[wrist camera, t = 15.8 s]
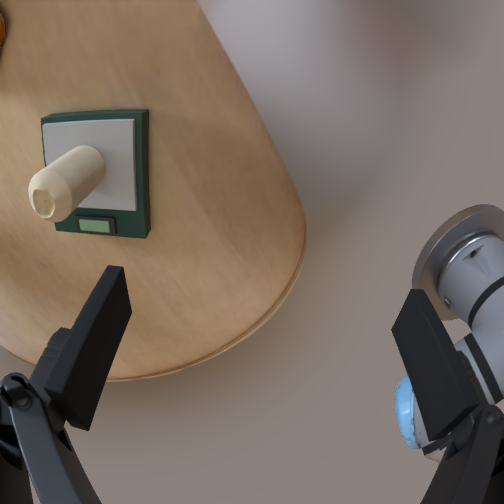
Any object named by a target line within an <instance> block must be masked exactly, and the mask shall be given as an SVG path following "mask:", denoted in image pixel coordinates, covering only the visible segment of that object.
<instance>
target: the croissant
mask: <svg viewBox="0 0 504 504" xmlns="http://www.w3.org/2000/svg"><path fill="white" fill-rule="evenodd" d="M5 37H6V34H5V22H4V18H3V16H2V14H1V13H0V48H1V47H2V46H3V44H4V42H5V41H4V40H5Z"/></svg>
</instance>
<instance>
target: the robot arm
mask: <svg viewBox="0 0 504 504" xmlns="http://www.w3.org/2000/svg"><path fill="white" fill-rule="evenodd" d="M437 293H438V296H439V298H440V299H441V301H442V303H443V304H444V305H445V306H446V307H447V308H448V309H449V310H450V311H451V312H453V313H454V314H455V315H457V316H458V317H459V318H461V319H462V320H463V321H464V322H466V323H467V324H468V326H469V327H470V329H471V331H472V332H471V333H469V334H468V335H467V336H466V337H464V338H463V339H461V340H460V341H458V342H457V343H456V344H454V345H453V343H452V341H451V339H450V337H449V335H448V333H447V331H446V329H445V327H444V325H443V323H442V322H441V320H440V318H439V316H438V314H437V312H436V310H435V309H434V307H433V305H432V303H431V301H430V300H429V298H428V296H427V294H426V293H425V291H424V289H411V290H410V292H409V294H408V296H407V299H406V301H405V303H404V305H403V307H402V309H401V311H400V313H399V315H398V317H397V319H396V321H395V324H394V325H393V327H392V329H391V330H392V333H393V336H394V338H395V341H396V343H397V346H398V349H399V351H400V354H401V357H402V359H403V362H404V365H405V368H406V371H407V374H408V375H407V376H405V377H404V378H403V379H401V381H400V382H399V384H398V386H397V388H396V395H395V406H396V407H395V408H396V415H397V420H398V424H399V427H400V430H401V433H402V436H403V437H404V438H405V441H406V443H407V445H408V446H409V447H410V448H412V449H420V448H422V450H423V453H424V456H425V458H428V459H431V460H435V461H436V462H438V464H439V466H438V469H437V471H436V473H435V475H434V477H433V479H432V482H431V484H430V486H429V488H428V490H427V492H426V494H425V496H424V498H423V500H422V502H421V503H420V504H504V414H503V413H502V411H501V410H500V409H499V408H498V407H497V406H495V404H497V403H498V402H500V401H501V400H502V399H504V241H503V240H502V239H501V238H500V237H499V236H498V235H496V234H494V233H490V232H484V233H479V234H476V235H474V236H472V237H470V238H468V239H467V240H465V241H464V242H462V243H461V244H460V245H459V246H458V247H457V248H456V249H455V250H454V251H453V252H452V253H451V254H450V256H449V257H448V258H447V260H446V261H445V263H444V264H443V266H442V268H441V271H440V273H439V276H438V280H437ZM131 314H132V309H131V305H130V300H129V295H128V290H127V284H126V279H125V273H124V268H123V267H120V266H110V265H108V266H107V268H106V269H105V271H104V273H103V274H102V276H101V278H100V279H99V281H98V283H97V284H96V286H95V288H94V289H93V291H92V293H91V294H90V296H89V298H88V300H87V301H86V303H85V305H84V307H83V308H82V310H81V312H80V314H79V316H78V317H77V319H76V321H75V323H74V325H73V327H72V328H71V329H67V328H62V327H61V328H60V329H59V330H58V331H57V332H55V333H54V334H53V335H52V337H51V338H50V340H49V342H48V344H47V347H46V348H45V349H44V351H43V353H42V356H41V357H40V359H39V361H38V363H37V365H36V367H35V369H34V371H33V373H32V375H31V377H30V379H29V380H28V379H27V377H25V376H24V375H23V374H21V373H10V374H8V375H7V376H5V377H4V378H3V379H2V380H1V382H0V504H33V499H32V493H31V488H30V481H29V475H30V478H31V481H32V483H33V485H34V488H35V491H36V493H37V496H38V498H39V500H40V503H41V504H102V503H101V502H100V500H99V498H98V496H97V495H96V493H95V491H94V489H93V487H92V485H91V483H90V482H89V480H88V478H87V476H86V474H85V472H84V470H83V468H82V466H81V464H80V461H79V459H78V457H77V455H76V453H75V451H74V448H73V446H72V444H71V442H70V439H69V437H68V434H67V432H66V430H65V428H64V424H65V421H66V420H67V421H68V422H69V424H70V425H71V426H73V427H76V428H79V429H82V430H86V431H89V429H90V426H91V423H92V420H93V417H94V413H95V410H96V407H97V404H98V401H99V399H100V396H101V393H102V390H103V387H104V384H105V381H106V379H107V376H108V373H109V370H110V368H111V365H112V362H113V360H114V357H115V354H116V352H117V349H118V347H119V344H120V341H121V339H122V336H123V334H124V331H125V329H126V326H127V324H128V321H129V319H130V317H131ZM28 473H29V475H28Z"/></svg>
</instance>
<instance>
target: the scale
mask: <svg viewBox="0 0 504 504" xmlns="http://www.w3.org/2000/svg"><path fill="white" fill-rule="evenodd" d="M148 121H149V110H148V109H139V110H103V111H86V112H72V113H61V114H51V115H48V116H46V117H43V118H41V130H42V142H43V152H44V161H45V167H46V166H48V165H49V164H51V163H52V162H54V161H55V160H57V159H58V158H60V157H61V156H63V155H65V154H66V153H68V152H69V151H71V150H73V149H74V148H76V147H78V146H82V145H87V146H91V147H93V148H95V149H96V150H98V151H99V152H100V154H101V155H102V157H103V158H104V161H105V165H106V172H105V176H104V179H103V180H102V182H101V183H100V184H99V185H98V186H97V187H96V188H95V189H94V190H93V191H92V192H91V193H90V194H89V195H88V196H87V197H86V198H85V199H84V200H83V201H82V202H81V203H80V204H79V205H78V206H77V207H76V209H75V210H74V211H73V212H72V213H71V214H70V215H69V216H68V217H67V218H66V219H65V220H63V221H61V222H54V223H55V227H56V231H65V232H76V233H87V234H99V235H110V236H121V237H132V238H144V239H146V238H147V236H148V234H149V232H150V230H151V225H150V205H149V174H148Z"/></svg>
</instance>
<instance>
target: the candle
mask: <svg viewBox="0 0 504 504" xmlns="http://www.w3.org/2000/svg"><path fill="white" fill-rule="evenodd" d="M105 172H106V165H105V161H104V158H103V157H102V155H101V154H100V152H99V151H98V150H96V149H95V148H93V147H91V146H87V145H82V146H78V147H76V148H74V149H73V150H71V151H69V152H68V153H66V154H65V155H63V156H61V157H60V158H58V159H57V160H55V161H54V162H52V163H51V164H49V165H48V166H46V167H45V168H44V169H42V170H41V171H39V172H38V173H36V174H35V175H34V176H33V178H32V179H31V181H30V184H29V199H30V202H31V205H32V207H33V209H34V210H35V212H36V213H37V214H38V215H39V216H40V217H41V218H43V219H45V220H47V221H50V222H61V221H63V220H65V219H66V218H67V217H68V216H69V215H70V214H71V213H72V212H73V211H74V210H75V209H76V207H77V206H78V205H79V204H80V203H81V202H82V201H83V200H84V199H85V198H86V197H87V196H88V195H89V194H90V193H91V192H92V191H93V190H94V189H95V188H96V187H97V186H98V185H99V184H100V183H101V182H102V180H103V179H104V176H105Z"/></svg>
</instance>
